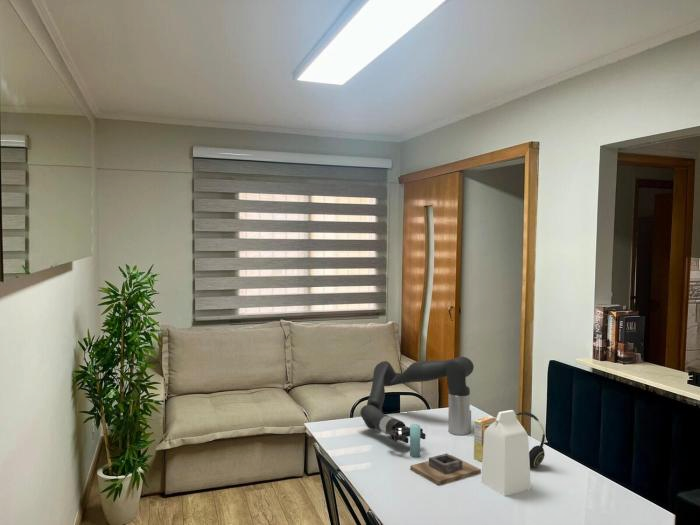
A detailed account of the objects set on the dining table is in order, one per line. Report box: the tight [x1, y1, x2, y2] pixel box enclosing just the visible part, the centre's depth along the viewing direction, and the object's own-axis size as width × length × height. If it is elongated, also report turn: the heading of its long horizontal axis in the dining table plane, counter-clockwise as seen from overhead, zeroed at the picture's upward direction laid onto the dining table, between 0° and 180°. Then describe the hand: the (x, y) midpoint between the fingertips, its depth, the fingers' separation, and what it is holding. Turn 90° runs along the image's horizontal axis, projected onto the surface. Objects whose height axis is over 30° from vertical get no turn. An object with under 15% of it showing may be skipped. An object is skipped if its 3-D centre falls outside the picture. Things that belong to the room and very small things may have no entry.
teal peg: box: [409, 423, 421, 458], centre depth 220 cm, size 4×4×12 cm
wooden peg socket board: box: [409, 453, 482, 486], centre depth 205 cm, size 20×16×4 cm
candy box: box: [473, 416, 496, 463], centre depth 218 cm, size 9×4×15 cm, turn 129°
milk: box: [480, 409, 532, 497], centre depth 193 cm, size 12×12×26 cm
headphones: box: [515, 411, 546, 468], centre depth 212 cm, size 9×15×20 cm, turn 39°
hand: (416, 438), depth 220 cm, fingers open, 8 cm apart
